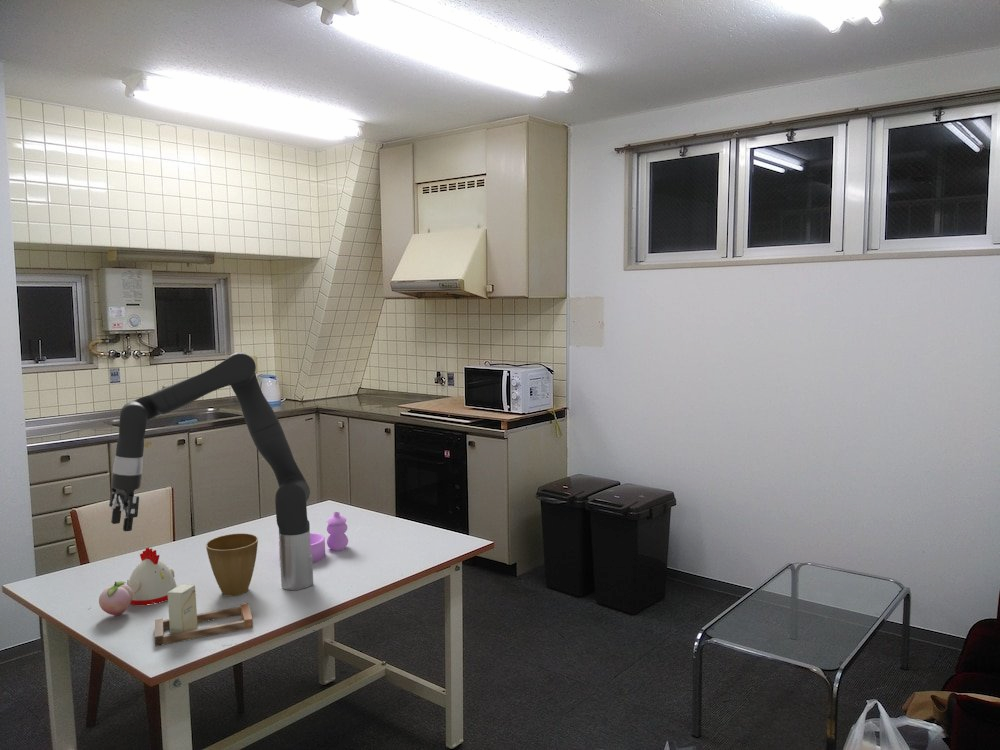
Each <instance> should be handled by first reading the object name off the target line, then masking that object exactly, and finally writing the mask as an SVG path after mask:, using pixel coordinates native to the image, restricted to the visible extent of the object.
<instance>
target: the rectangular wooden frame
mask: <svg viewBox="0 0 1000 750" xmlns="http://www.w3.org/2000/svg"><path fill="white" fill-rule="evenodd" d="M236 616H241V619H242V620H239V621H233V622H232V621H231V622H227V623H223V624H217V625H211V626H206V627H201V628H197V629H194V630H189V631H184V632H178V633H173V634H170V633H169V634H165V633H164V630H165V629H164V628H166V629H170V623H169V618H168V619H167V618H166V619H164V618H162V617H161V618H157V619H154V646H155V647H157V645H159V646H163V645H162V644H164V645H168V644H167V643H169V644H173V642H175V643H180V642H184V640H185V641H190V640H194V639H200V637H201V638H205V636H206V637H210V636H217V635H220V634H226V633H231V632H237V631H242V630H248V629H253V628H254V626H253V616H252V613H251V609H250V606H249V604H248V603H242V604H240V606H234V607H230V608H225V609H224V608H223V609H218V610H212V611H207V612H201V613H197V622H199V623H204V622H208V620H210V621H215V620H221V619H225V618H226V619H227V618H231V617H236ZM213 619H214V620H213ZM203 621H204V622H203ZM189 639H190V640H189ZM179 641H180V642H179Z"/></svg>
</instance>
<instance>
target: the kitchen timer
mask: <svg viewBox="0 0 1000 750" xmlns="http://www.w3.org/2000/svg"><path fill="white" fill-rule="evenodd" d="M139 556H140V559H141V561H140V562H139V563H138V564H137V565H136V566H135V568H134V569H133V570H132V572H131V574H130V576H129V579H126V585H128V586H129V587H130V588H131V589H132V591H133V597H132V600H131V603H130V604H132V606H135V605H145V606H148V605H147V604H153V605H155V604H154V603H158V604H160V603H159V602H161V603H163V602H162V601H164V602H166V601H165V600H167V601H168V592H169V591H170V590H172V589H174V588H175V587H177V583H176V579H175V571H174V569H173V568H169V567H168V566H167V564H166V563H165V562H163V561H162V560H160V556H161V555H160V554H157V550H156V549H154V550H153V548H152V547H151V548H150V547H146V548H145V549H144V550H143V551H142V552H141V553H139Z"/></svg>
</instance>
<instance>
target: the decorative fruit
mask: <svg viewBox="0 0 1000 750" xmlns="http://www.w3.org/2000/svg"><path fill="white" fill-rule="evenodd" d="M132 597H133V591H132V589H131V588H130V587H129V586H128V585H127V583H126V582H125V581H122V580H119V581H114V584H111V585H108V586H107V587H106V588H103V590H102V591H101V593H100V594H99V597H98V604H99V607H100V608H101V610H102V611H103V612H105V613H106V614H108V615H112V616H116V617H117V616H121V615H122V614H123V613H125V611H126V610H127V609H128V608H129V606H131V605H130V603H131V600H132Z"/></svg>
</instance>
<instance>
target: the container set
mask: <svg viewBox="0 0 1000 750" xmlns="http://www.w3.org/2000/svg"><path fill="white" fill-rule="evenodd" d="M326 522H327V526H326V531H327V533H328V535H329V536H328V537H327V539H326V538H325V536H324V535H323V534H321V533H316V532H310V549H311V555H312V564H313V563H314V564H315V563H318V562H320V561H322V560H324V558H325V557H326V545H327V547H328V548H329V549H330V550H331V551H334V552H336V551H342V550H344V549H346V548H347V546H348V544H349V538H348V535H346V534H345V533H346V532H347V531H348V525H347V518H346V516H344V515H340V511H334V512H333V515H332V516H330V517H328V518H327V521H326ZM325 540H326V541H325ZM278 554H279V556H280V545H279V544H278Z"/></svg>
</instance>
